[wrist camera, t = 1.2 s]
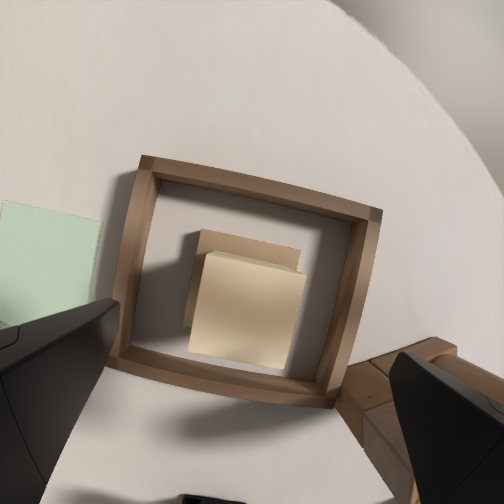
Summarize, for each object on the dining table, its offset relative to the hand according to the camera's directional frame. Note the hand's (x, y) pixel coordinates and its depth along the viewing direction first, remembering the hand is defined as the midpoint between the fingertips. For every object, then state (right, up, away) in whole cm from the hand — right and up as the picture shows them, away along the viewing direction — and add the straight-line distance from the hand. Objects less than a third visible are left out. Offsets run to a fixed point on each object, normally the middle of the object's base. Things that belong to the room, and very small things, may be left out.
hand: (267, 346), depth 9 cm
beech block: (-1, 0, +13) cm, 13 cm away
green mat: (-19, +1, +13) cm, 23 cm away
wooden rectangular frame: (-1, 0, +14) cm, 14 cm away
